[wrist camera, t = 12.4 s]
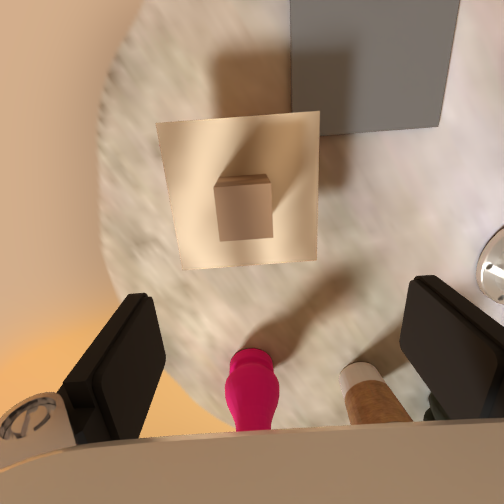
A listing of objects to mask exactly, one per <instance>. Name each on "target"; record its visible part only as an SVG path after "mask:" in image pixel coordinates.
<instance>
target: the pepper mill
mask: <svg viewBox="0 0 504 504" xmlns="http://www.w3.org/2000/svg"><path fill="white" fill-rule="evenodd" d="M225 398H226V402H227V405H228V408H229V410H230V412H231V414H232V416H233V419H234V421H235V425H236V432H240V431H256V430H271V422H272V418H273V415H274V412H275V410H276V407H277V404H278V399H279V382H278V379H277V377H276V376H275V374H274V370H273V363H272V359H271V357H270V356H269V355H268V354H267V353H266V352H264V351H262V350H260V349H255V348H249V349H244V350H241V351H239V352H238V353H236V354H235V355H234V356H233V358H232V359H231V362H230V375H229V377H228V378H227V380H226V384H225Z"/></svg>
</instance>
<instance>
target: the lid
mask: <svg viewBox="0 0 504 504" xmlns="http://www.w3.org/2000/svg"><path fill="white" fill-rule="evenodd" d="M156 128H157V134H158V139H159V144H160V150H161V155H162V161H163V166H164V172H165V177H166V183H167V188H168V193H169V199H170V204H171V210H172V215H173V221H174V226H175V232H176V237H177V242H178V248H179V253H180V259H181V264H182V270H194V269H207V268H221V267H234V266H247V265H261V264H274V263H288V262H301V261H314V260H317V221H318V174H319V128H320V111H311V112H297V113H284V114H271V115H257V116H244V117H231V118H217V119H204V120H191V121H178V122H164V123H156Z"/></svg>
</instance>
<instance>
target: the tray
mask: <svg viewBox="0 0 504 504" xmlns="http://www.w3.org/2000/svg"><path fill="white" fill-rule="evenodd" d="M459 1H460V0H290V30H291V97H292V113H297V112H311V111H320V128H319V136H324V135H337V134H350V133H363V132H376V131H389V130H402V129H415V128H428V127H438V125H439V119H440V113H441V108H442V102H443V96H444V90H445V84H446V78H447V72H448V66H449V60H450V54H451V48H452V42H453V36H454V31H455V25H456V19H457V13H458V7H459Z"/></svg>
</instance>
